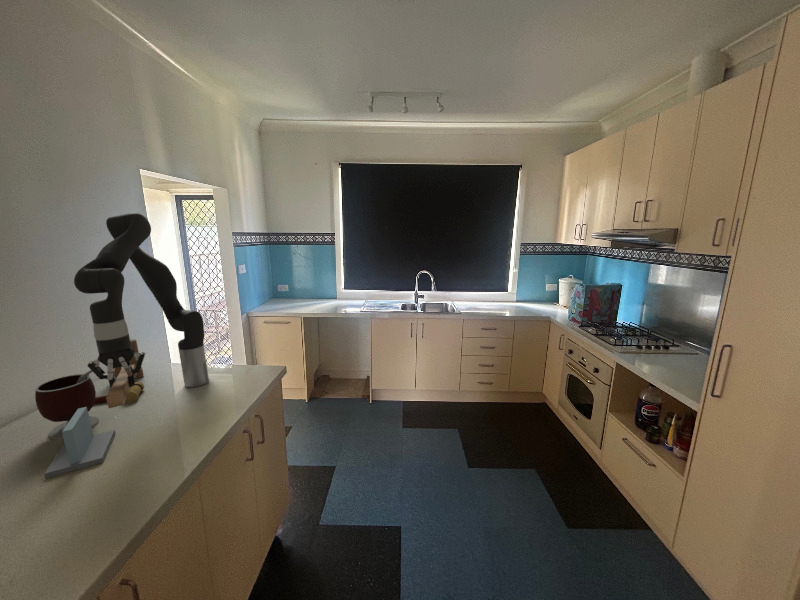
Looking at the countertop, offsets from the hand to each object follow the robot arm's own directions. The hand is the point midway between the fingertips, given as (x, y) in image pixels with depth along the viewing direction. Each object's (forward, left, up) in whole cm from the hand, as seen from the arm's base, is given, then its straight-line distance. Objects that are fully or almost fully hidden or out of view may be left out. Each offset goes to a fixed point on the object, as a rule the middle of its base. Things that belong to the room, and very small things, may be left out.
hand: (123, 387), depth 100 cm
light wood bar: (0, 0, -1) cm, 1 cm away
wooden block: (+10, -59, -19) cm, 63 cm away
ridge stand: (+12, 0, -19) cm, 22 cm away
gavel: (+13, -38, -19) cm, 44 cm away
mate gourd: (+18, -20, -19) cm, 33 cm away
